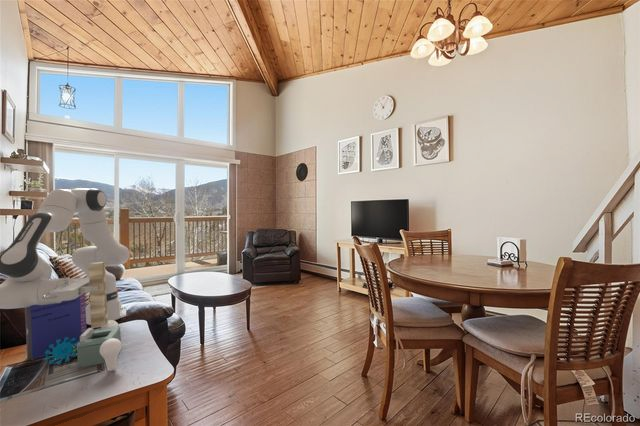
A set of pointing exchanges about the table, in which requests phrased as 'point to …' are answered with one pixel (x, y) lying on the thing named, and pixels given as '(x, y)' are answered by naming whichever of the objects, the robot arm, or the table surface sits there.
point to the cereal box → (54, 325)
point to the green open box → (92, 353)
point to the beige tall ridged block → (98, 294)
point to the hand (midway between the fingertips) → (100, 285)
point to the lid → (89, 334)
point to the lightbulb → (110, 352)
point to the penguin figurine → (110, 325)
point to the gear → (62, 351)
